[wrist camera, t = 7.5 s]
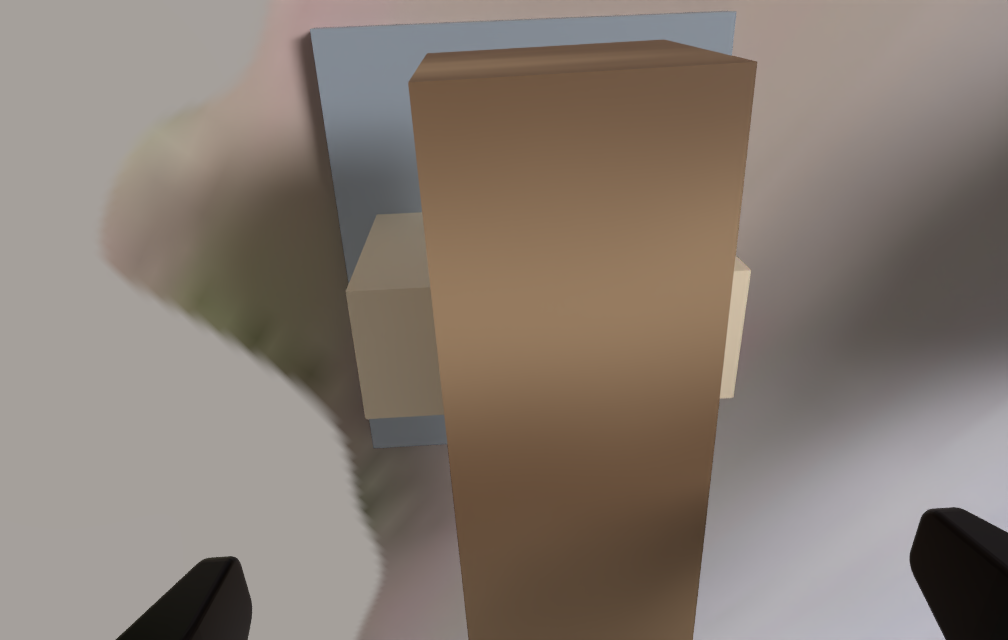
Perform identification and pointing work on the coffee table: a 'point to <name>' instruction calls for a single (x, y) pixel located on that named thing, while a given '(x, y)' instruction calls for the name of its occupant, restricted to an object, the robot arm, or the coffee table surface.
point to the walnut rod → (581, 322)
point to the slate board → (397, 203)
